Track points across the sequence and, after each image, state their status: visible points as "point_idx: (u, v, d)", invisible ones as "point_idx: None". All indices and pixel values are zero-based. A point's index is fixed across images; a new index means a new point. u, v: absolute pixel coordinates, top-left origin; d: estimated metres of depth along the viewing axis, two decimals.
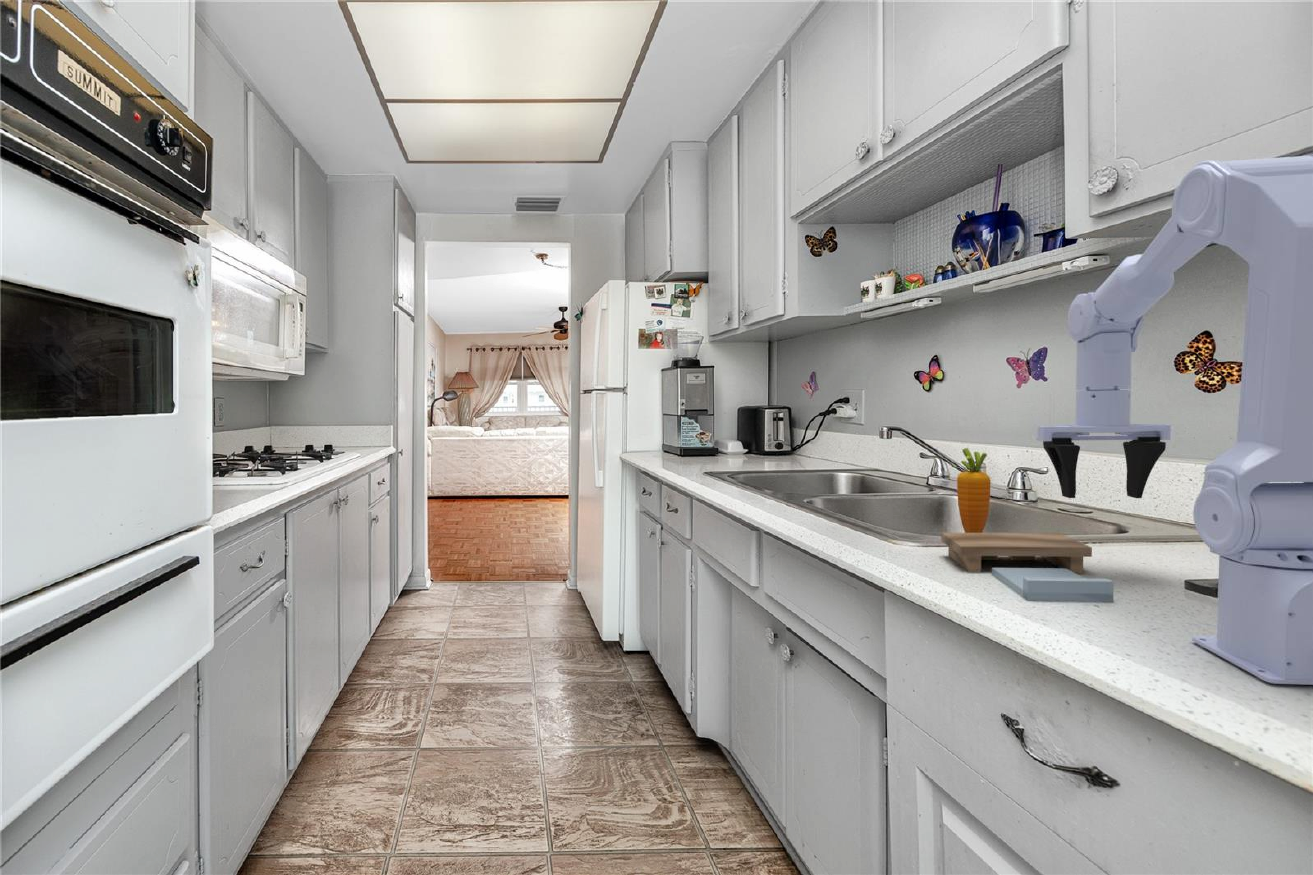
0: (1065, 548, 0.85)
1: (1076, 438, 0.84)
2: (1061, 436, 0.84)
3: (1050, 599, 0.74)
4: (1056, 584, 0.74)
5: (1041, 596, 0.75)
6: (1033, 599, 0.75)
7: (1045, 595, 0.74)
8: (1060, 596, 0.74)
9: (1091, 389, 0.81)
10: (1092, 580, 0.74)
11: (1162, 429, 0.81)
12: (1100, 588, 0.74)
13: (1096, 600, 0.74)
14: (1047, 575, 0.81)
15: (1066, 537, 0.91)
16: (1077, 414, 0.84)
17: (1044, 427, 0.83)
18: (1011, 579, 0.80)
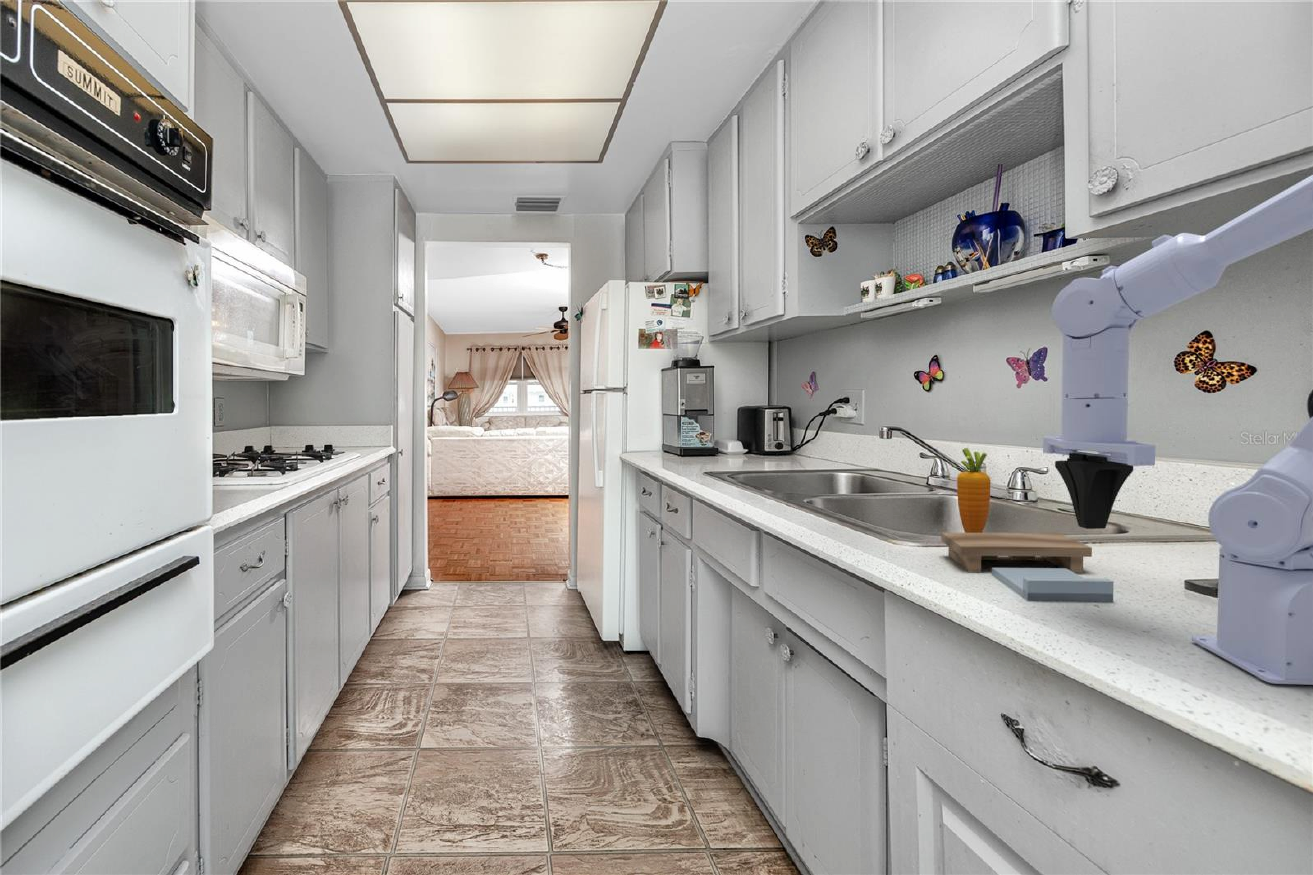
0: (1065, 548, 0.85)
1: None
2: (1061, 449, 0.74)
3: (1050, 599, 0.74)
4: (1056, 584, 0.74)
5: (1041, 596, 0.75)
6: (1033, 599, 0.75)
7: (1045, 595, 0.74)
8: (1060, 596, 0.74)
9: None
10: (1092, 580, 0.74)
11: (1126, 451, 0.62)
12: (1100, 588, 0.74)
13: (1096, 600, 0.74)
14: (1047, 575, 0.81)
15: (1066, 537, 0.91)
16: None
17: (1043, 437, 0.76)
18: (1011, 579, 0.80)
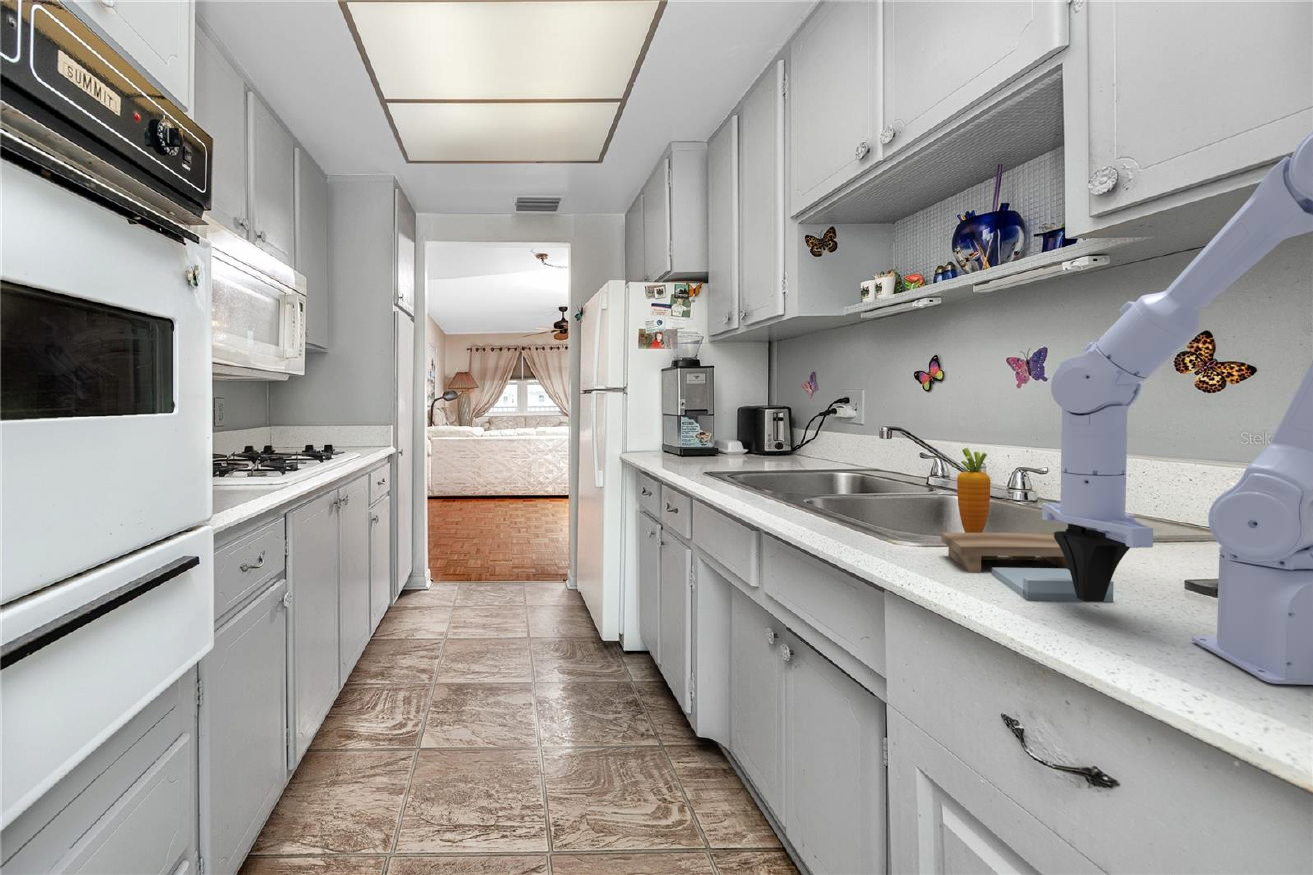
0: None
1: (1069, 523, 0.72)
2: None
3: (1050, 599, 0.74)
4: (1056, 584, 0.74)
5: (1041, 596, 0.75)
6: (1033, 599, 0.75)
7: (1045, 595, 0.74)
8: (1060, 596, 0.74)
9: None
10: None
11: (1125, 532, 0.63)
12: None
13: None
14: (1047, 575, 0.81)
15: None
16: None
17: (1042, 504, 0.76)
18: (1011, 579, 0.80)
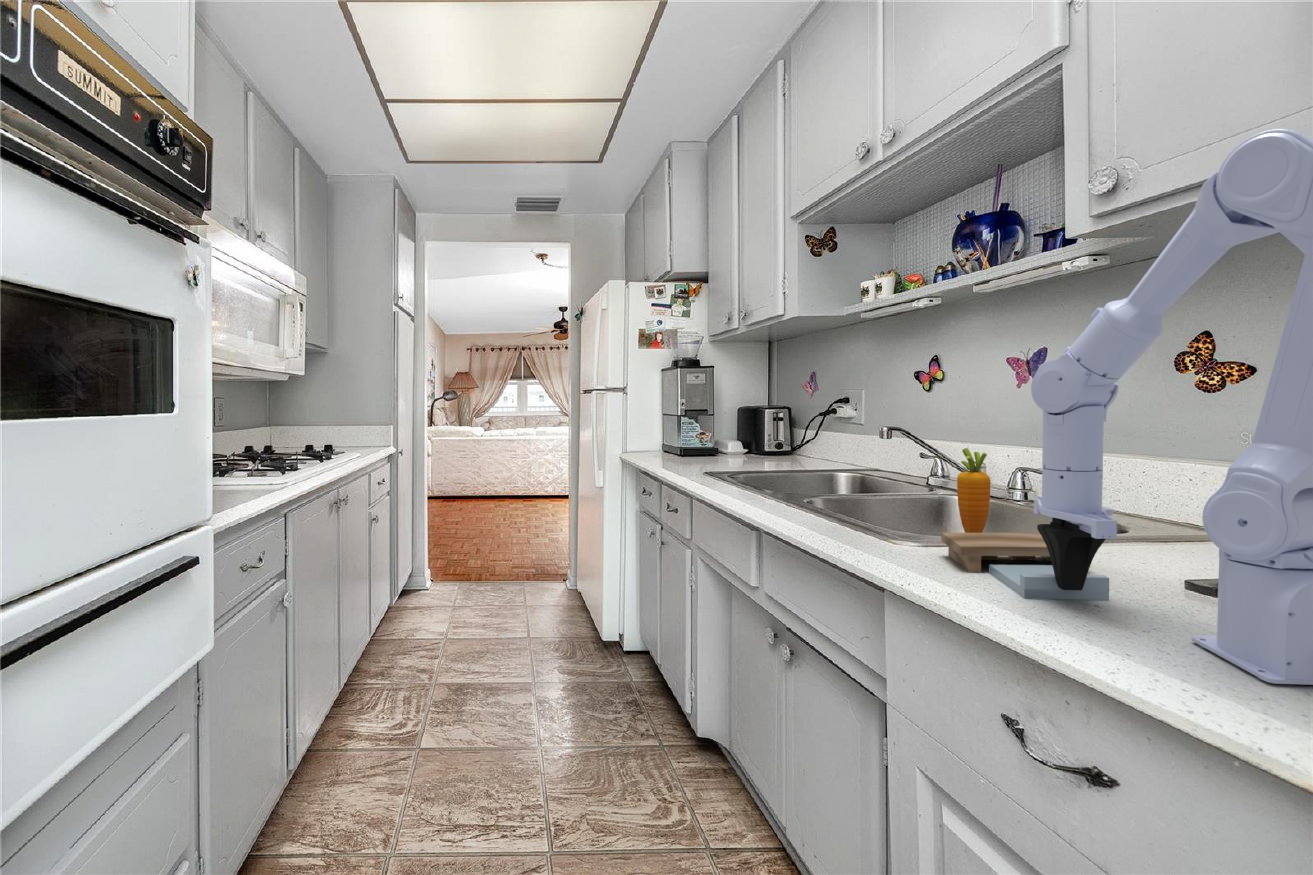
0: None
1: None
2: None
3: (1047, 595, 0.75)
4: (1053, 581, 0.75)
5: (1038, 592, 0.75)
6: (1030, 595, 0.76)
7: (1042, 591, 0.75)
8: (1057, 592, 0.75)
9: None
10: (1088, 576, 0.75)
11: (1090, 524, 0.67)
12: (1096, 584, 0.75)
13: (1092, 596, 0.75)
14: (1044, 572, 0.82)
15: None
16: None
17: (1034, 499, 0.81)
18: (1008, 576, 0.81)
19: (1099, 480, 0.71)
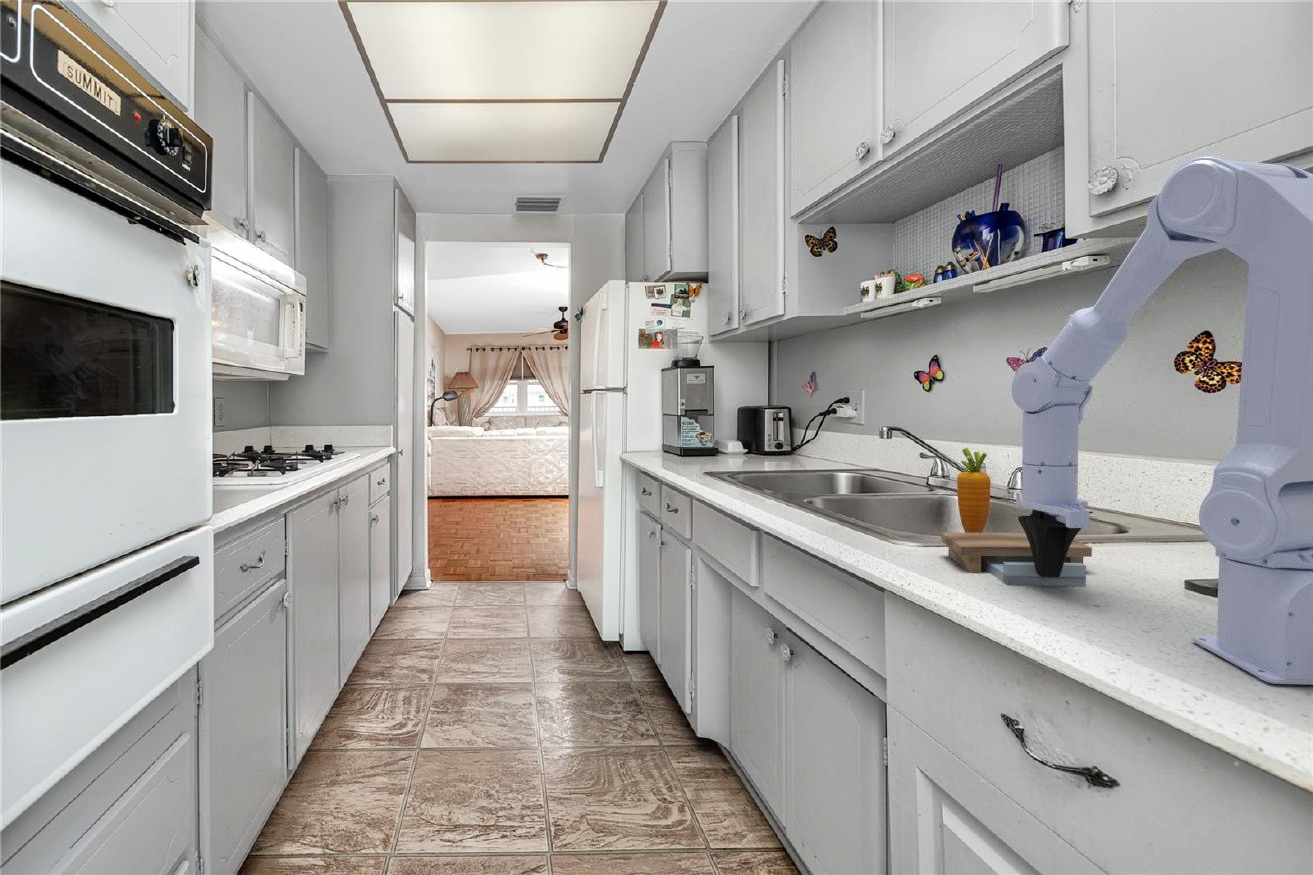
0: None
1: None
2: None
3: (1028, 582, 0.81)
4: (1033, 568, 0.80)
5: (1019, 579, 0.81)
6: (1012, 582, 0.81)
7: (1023, 578, 0.81)
8: (1037, 579, 0.81)
9: None
10: (1066, 564, 0.80)
11: (1065, 514, 0.73)
12: (1073, 571, 0.80)
13: (1070, 582, 0.80)
14: (1027, 561, 0.88)
15: None
16: None
17: (1016, 492, 0.86)
18: (993, 564, 0.86)
19: (1074, 474, 0.76)
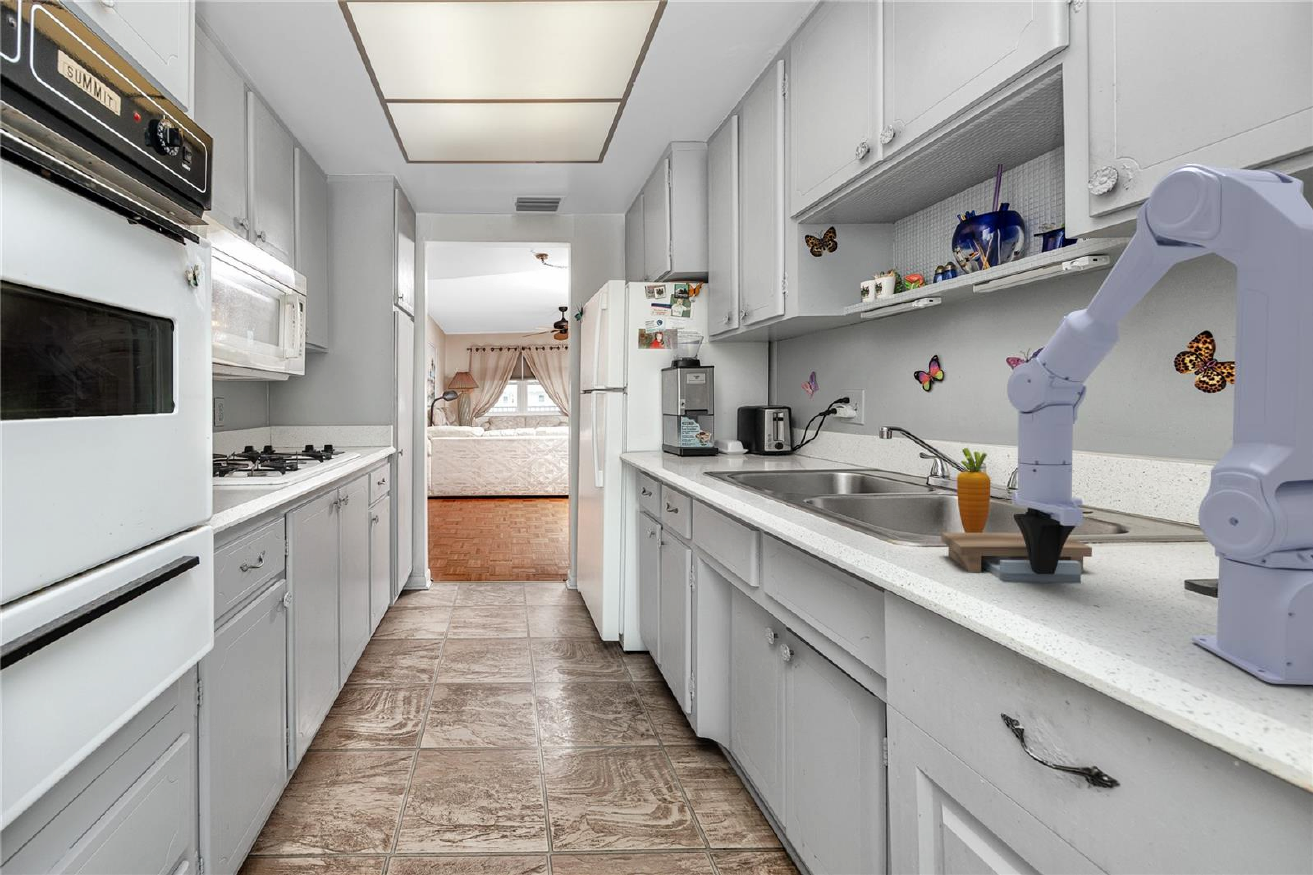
0: (1065, 548, 0.85)
1: None
2: None
3: (1024, 579, 0.82)
4: (1029, 565, 0.82)
5: (1016, 576, 0.82)
6: (1008, 579, 0.82)
7: (1019, 575, 0.82)
8: (1033, 576, 0.82)
9: None
10: (1062, 562, 0.82)
11: (1059, 512, 0.74)
12: (1068, 569, 0.81)
13: (1065, 580, 0.81)
14: (1023, 559, 0.89)
15: None
16: None
17: (1012, 491, 0.87)
18: (990, 562, 0.88)
19: (1068, 473, 0.78)
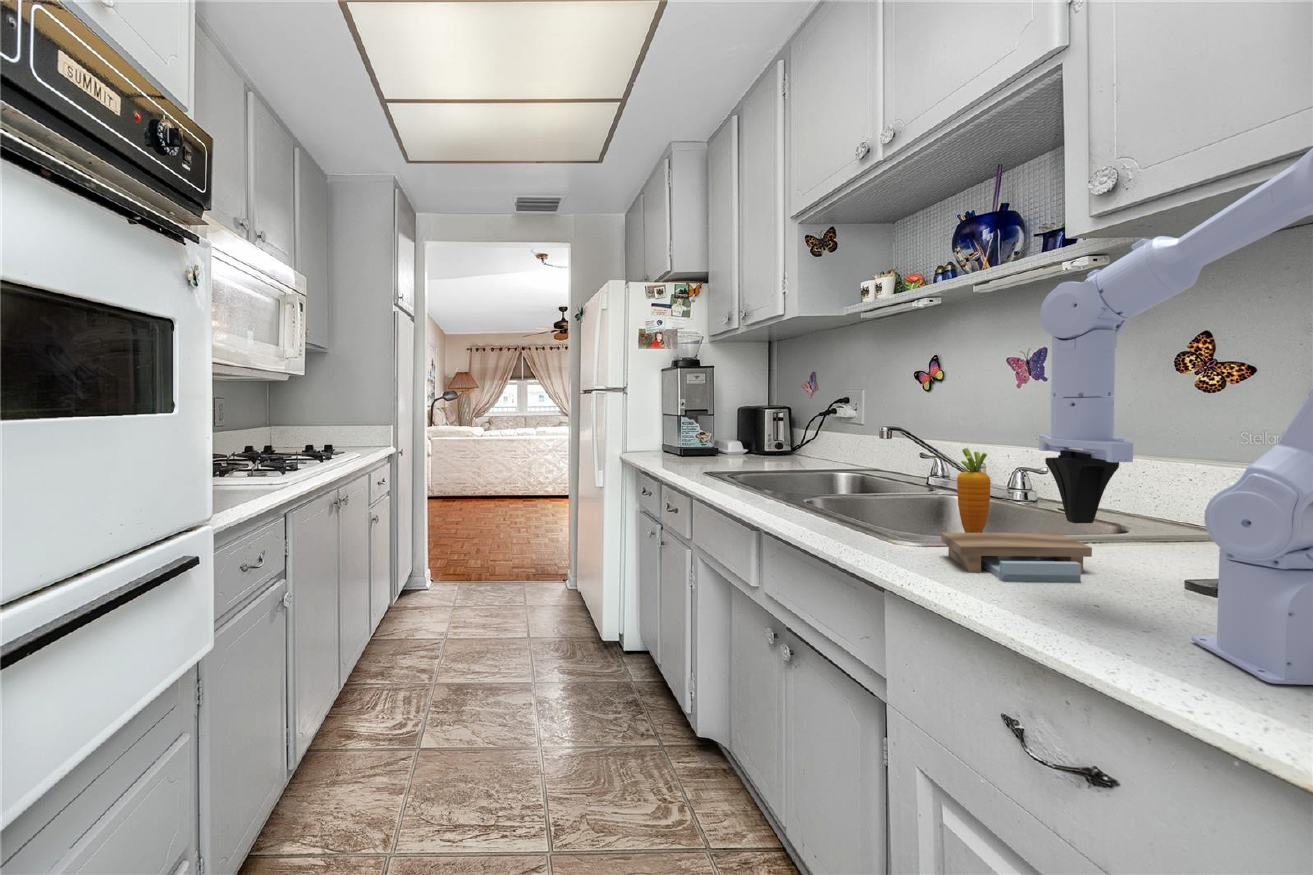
0: (1065, 548, 0.85)
1: None
2: (1055, 447, 0.76)
3: (1024, 580, 0.82)
4: (1029, 566, 0.82)
5: (1015, 577, 0.82)
6: (1008, 580, 0.82)
7: (1019, 576, 0.82)
8: (1033, 577, 0.82)
9: None
10: (1062, 563, 0.82)
11: (1105, 448, 0.65)
12: (1068, 570, 0.81)
13: (1065, 581, 0.81)
14: (1023, 559, 0.89)
15: (1066, 537, 0.91)
16: None
17: (1039, 435, 0.78)
18: (990, 563, 0.88)
19: (1111, 406, 0.69)
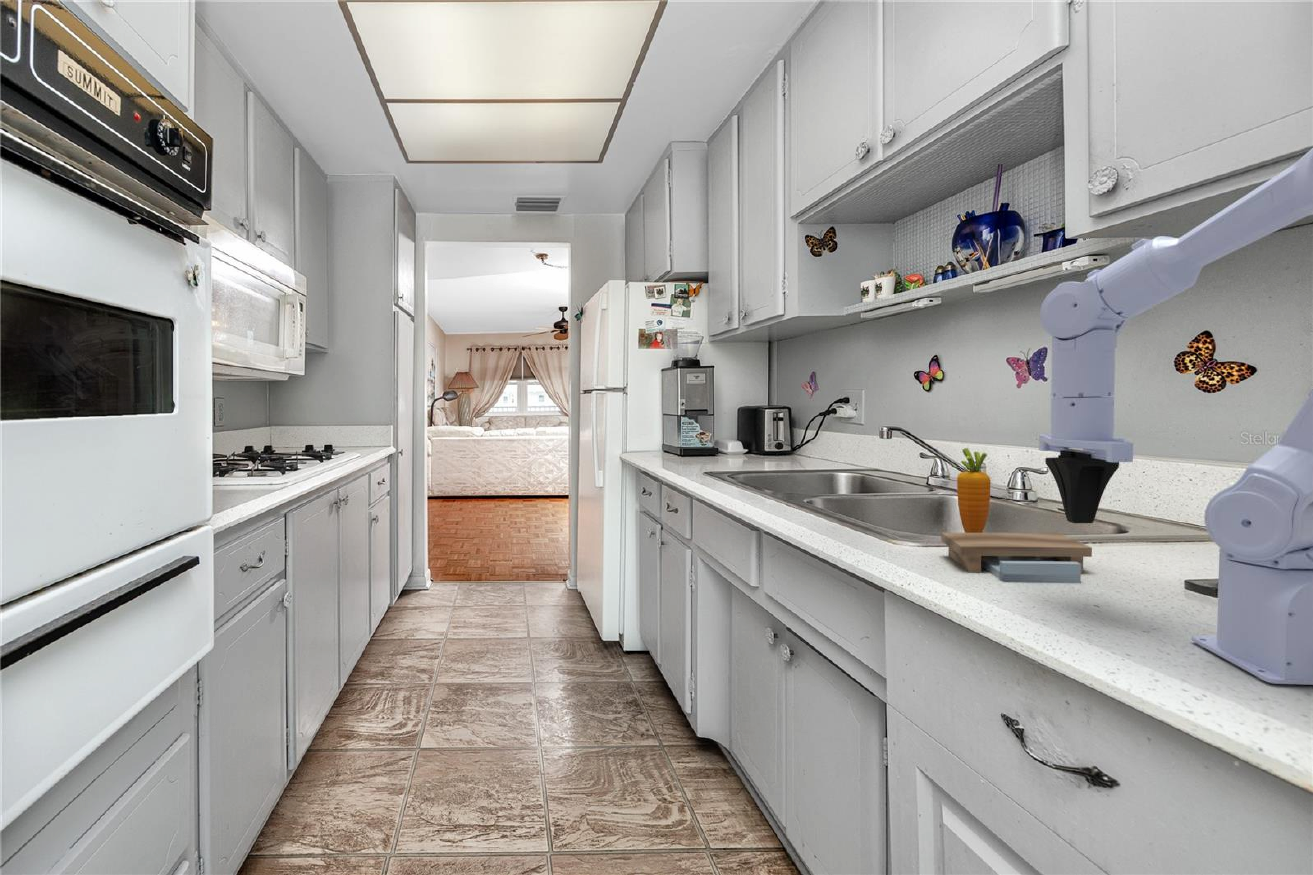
0: (1065, 548, 0.85)
1: None
2: (1055, 447, 0.76)
3: (1024, 580, 0.82)
4: (1029, 566, 0.82)
5: (1015, 577, 0.82)
6: (1008, 580, 0.82)
7: (1019, 576, 0.82)
8: (1033, 577, 0.82)
9: None
10: (1062, 563, 0.82)
11: (1105, 448, 0.65)
12: (1068, 570, 0.81)
13: (1065, 581, 0.81)
14: (1023, 559, 0.89)
15: (1066, 537, 0.91)
16: None
17: (1039, 435, 0.78)
18: (990, 563, 0.88)
19: (1111, 406, 0.69)
